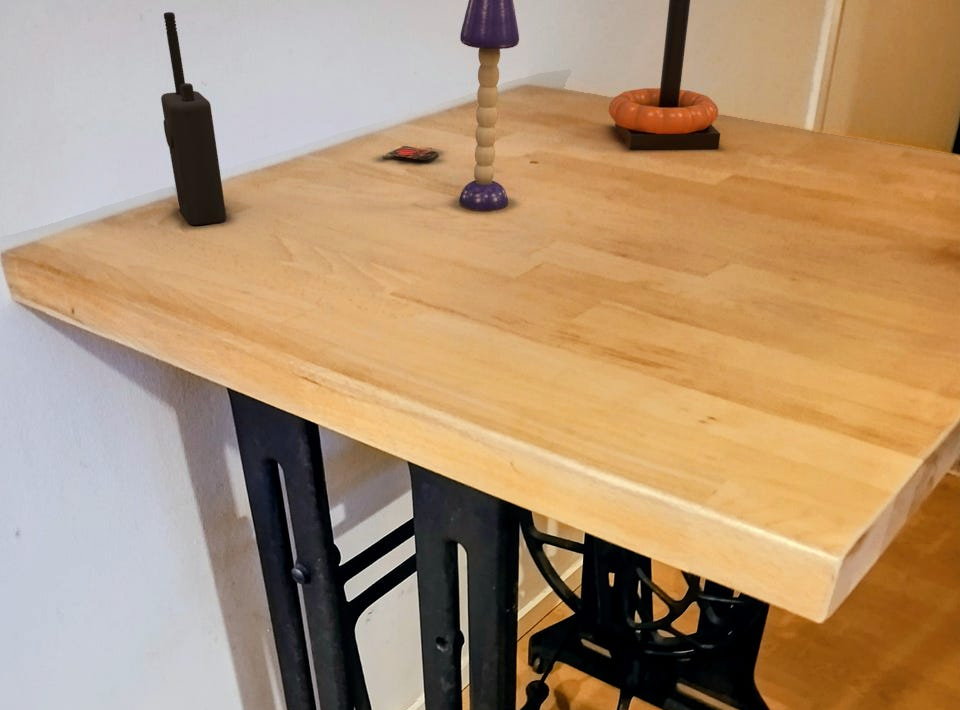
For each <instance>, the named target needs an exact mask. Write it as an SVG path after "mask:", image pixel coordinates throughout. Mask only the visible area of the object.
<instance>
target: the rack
mask: <svg viewBox="0 0 960 710" xmlns="http://www.w3.org/2000/svg"><path fill="white" fill-rule="evenodd" d="M690 7H691V0H669V1H668V9H667V19H666V27H665V36H664V37H665V39H664V47H663V49H664V50H663V58H662V68H661V78H660V87H659V88H660V95H659V105H658V107H660V108H678V104H679V95H680V90H681V86H682V78H683V68H684V60H685V50H686V42H687V33H688V32H687V31H688V25H689V24H688V23H689V15H690ZM614 128H615V130H616V131H617V132H618V134H619V135H620V137H621V138H622V140H623V142H624V143H625V145H626V146H627V148H628V149H629V150H630V151H641V150H642V151H643V150H646V151H648V150H649V151H651V150H653V151H655V150H656V151H657V150H658V151H659V150H718V149H719V147H720V138H721V132H720V131H719V130H718V129H717V128H716V127H715V126H714V125H713V123H712V124H711V125H710V126H708V127H707V128H706V129H704V130H701V131H696V132H690V133H685V134H654V133H646V132H639V131H634V130H631V129H628V128H625V127H622V126H619V125H617V124H616V123H615V122H614Z"/></svg>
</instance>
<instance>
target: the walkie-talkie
mask: <svg viewBox="0 0 960 710" xmlns="http://www.w3.org/2000/svg"><path fill="white" fill-rule="evenodd" d="M163 19H164V24H165V30H166V31H165V32H166V38H167V44H168V51H169V56H170V63H171V69H172V76H173V83H174V89H175V92H167V93H166V92H165V93H162V95H161V97H160V101H161V106H162V113H163V118H164V119H163V130H164V135H165V136H164V137H165V141H166V143H167V146H168V149H169V154H170V155H169V156H170V161H171V166H172V172H173V173H172V174H173V178H174V184H175V191H176V196H177V202H178V207H179V212H180V214H181V215H182V216H183V218H184V219H185V220H186V221H187V223H188V224H190V225H191V226H202V225H211V224H217V223H223V222H224V221H226V220H227V210H226V206H225V198H224V190H223V183H222V177H221V170H220V169H221V168H220V162H219V156H218V149H217V142H216V140H217V139H216V133H215V126H214V120H213V112H212V105H211V102H210V101H209V100H208V99H207V98H205V96H204V95H202V94H201V92H199V91H196V90H194V86H193V84H192V83H187V82H186V80H185V79H186V78H185V73H184V68H183V60H182V53H181V47H180V40H179V35H178V28H177V22H176V16H175V12H172V11H167V12H164V13H163Z"/></svg>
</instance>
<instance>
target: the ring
mask: <svg viewBox="0 0 960 710" xmlns="http://www.w3.org/2000/svg"><path fill="white" fill-rule="evenodd" d="M659 95H660V87H654V88H649V87H648V88H647V87H646V88H638V89H637V88H636V89H631V90H626V91H622V93H619V94H618V95H616V96H614V97H613V98H612V99H611V100H610V102H609V104H608V113H609V116H610V117H611V119H612V120H613V122H614V124H615V123H616V124H617V125H619V126H622V127H625V128H628V129H631V130H634V131H639V132H646V133H654V134H685V133H690V132H696V131H701V130H704V129H706V128H707V127H708V126H710V125H711V124H712V125H713V123H714V122H715V121H717V118H718V116H719V108H718V105H717V104H716V103H715V102H714V101H713V99H712V98H710V97H709V96H708V95H705V94H702V93H699V92H695V91H691V90H685V89H680V95H679V104H678V108H660V107H658V105H659Z"/></svg>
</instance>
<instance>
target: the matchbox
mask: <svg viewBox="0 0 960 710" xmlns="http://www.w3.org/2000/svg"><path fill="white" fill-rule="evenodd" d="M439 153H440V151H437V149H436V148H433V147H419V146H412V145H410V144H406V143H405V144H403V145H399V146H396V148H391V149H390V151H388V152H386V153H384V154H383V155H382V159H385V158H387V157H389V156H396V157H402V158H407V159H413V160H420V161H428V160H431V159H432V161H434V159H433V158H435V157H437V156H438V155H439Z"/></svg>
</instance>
